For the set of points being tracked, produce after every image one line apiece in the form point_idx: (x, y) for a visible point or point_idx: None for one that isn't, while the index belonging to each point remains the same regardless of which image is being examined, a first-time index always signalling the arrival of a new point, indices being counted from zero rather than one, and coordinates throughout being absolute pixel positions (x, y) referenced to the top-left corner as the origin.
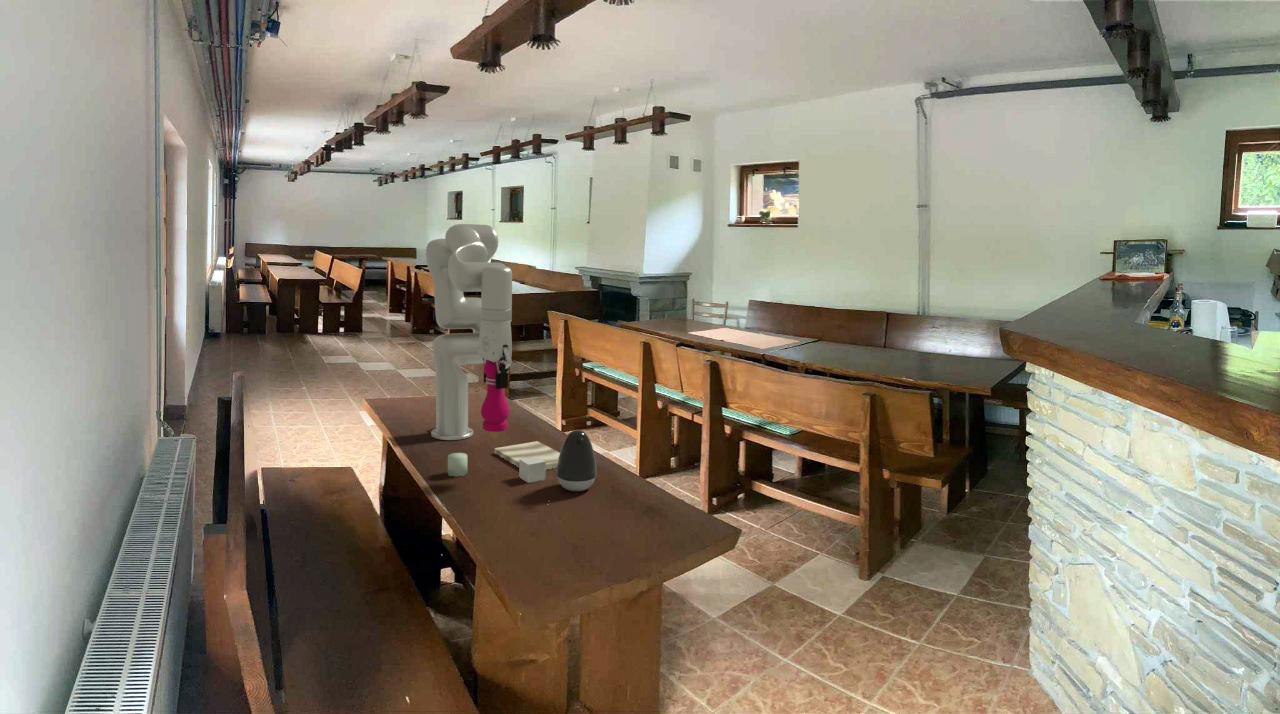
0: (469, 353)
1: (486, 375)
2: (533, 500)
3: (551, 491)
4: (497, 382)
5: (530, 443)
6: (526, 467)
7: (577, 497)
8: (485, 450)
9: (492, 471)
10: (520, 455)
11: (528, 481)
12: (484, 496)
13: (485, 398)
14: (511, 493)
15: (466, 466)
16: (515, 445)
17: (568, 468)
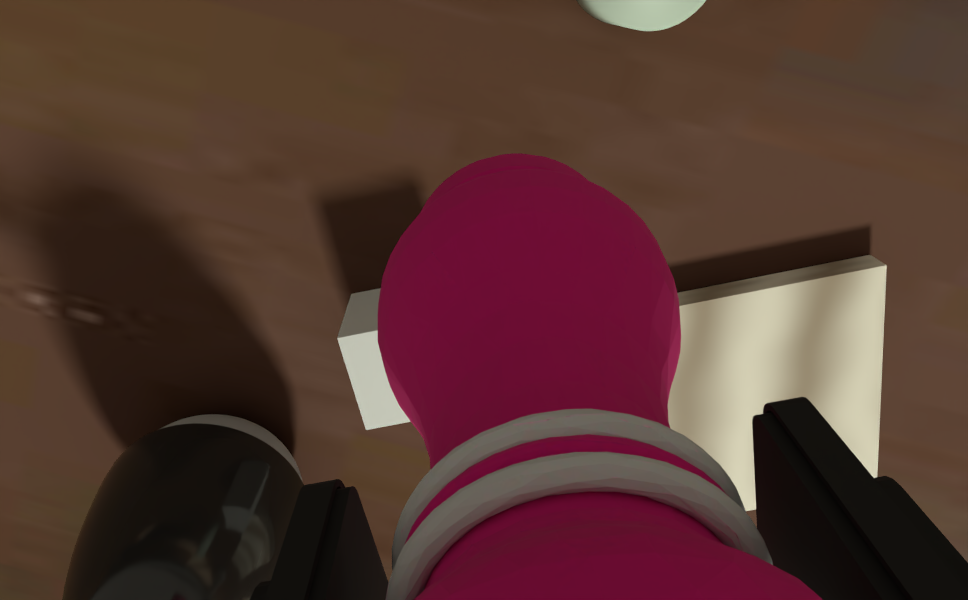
0: None
1: (813, 521)
2: (99, 251)
3: (207, 358)
4: (287, 578)
5: (860, 449)
6: (363, 322)
7: (109, 435)
8: (944, 221)
9: (586, 169)
10: (699, 358)
11: (350, 297)
12: (201, 25)
13: (567, 282)
14: (218, 177)
15: (595, 13)
16: (870, 376)
17: (103, 492)
